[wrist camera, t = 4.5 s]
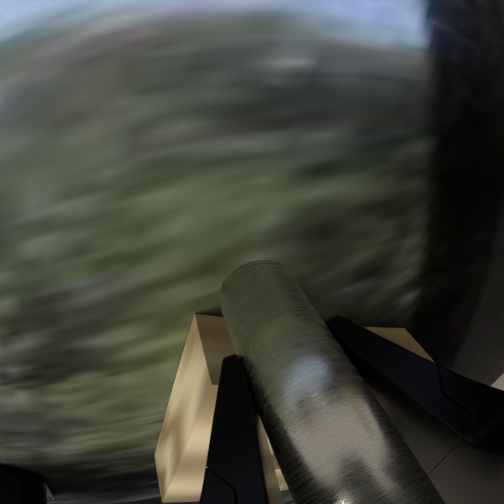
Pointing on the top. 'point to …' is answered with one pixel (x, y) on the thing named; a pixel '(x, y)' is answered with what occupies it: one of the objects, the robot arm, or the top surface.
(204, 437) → the birch hole block
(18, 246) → the top surface
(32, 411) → the top surface
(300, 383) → the long steel pin
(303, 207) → the top surface
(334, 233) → the top surface
